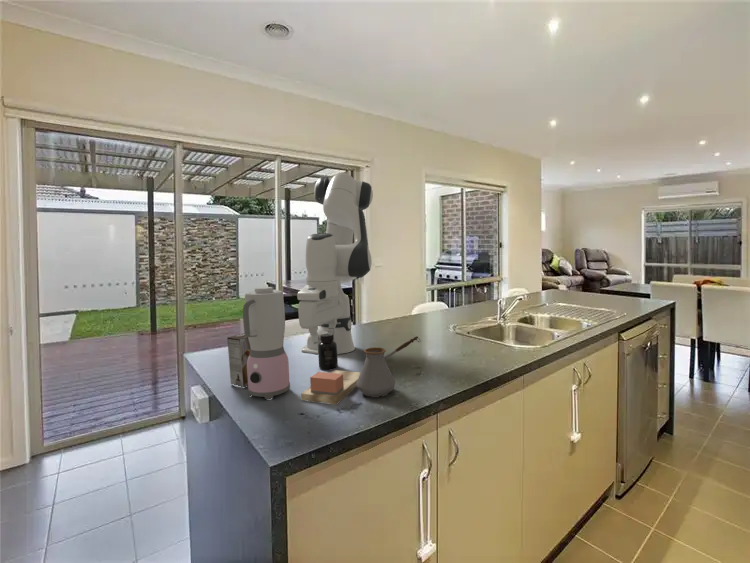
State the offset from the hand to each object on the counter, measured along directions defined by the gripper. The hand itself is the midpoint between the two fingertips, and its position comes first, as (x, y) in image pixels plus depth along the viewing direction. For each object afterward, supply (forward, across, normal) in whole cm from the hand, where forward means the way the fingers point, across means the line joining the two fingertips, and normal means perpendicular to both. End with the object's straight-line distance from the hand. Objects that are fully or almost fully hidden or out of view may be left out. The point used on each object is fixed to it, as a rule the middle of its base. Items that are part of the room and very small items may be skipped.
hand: (323, 337), depth 115 cm
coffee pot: (+17, -10, +17) cm, 26 cm away
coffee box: (+18, -2, -30) cm, 35 cm away
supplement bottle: (+18, -25, -12) cm, 33 cm away
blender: (+18, +4, -18) cm, 25 cm away
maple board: (+17, -6, 0) cm, 18 cm away
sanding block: (+15, +1, +1) cm, 15 cm away
